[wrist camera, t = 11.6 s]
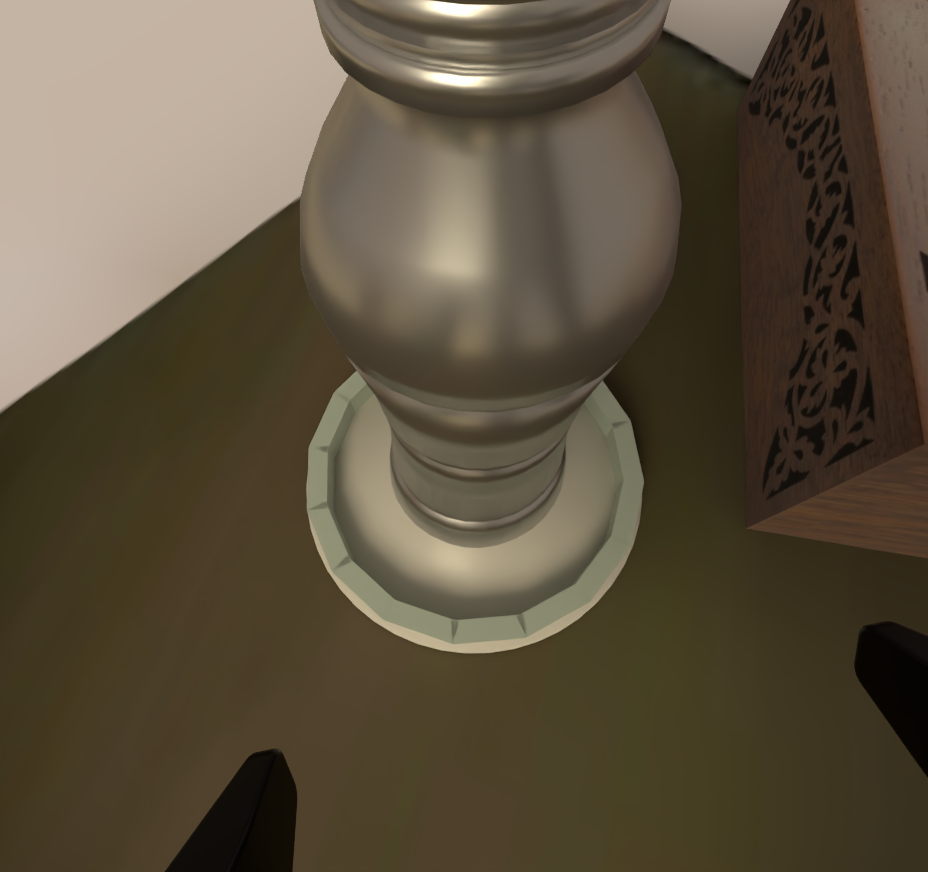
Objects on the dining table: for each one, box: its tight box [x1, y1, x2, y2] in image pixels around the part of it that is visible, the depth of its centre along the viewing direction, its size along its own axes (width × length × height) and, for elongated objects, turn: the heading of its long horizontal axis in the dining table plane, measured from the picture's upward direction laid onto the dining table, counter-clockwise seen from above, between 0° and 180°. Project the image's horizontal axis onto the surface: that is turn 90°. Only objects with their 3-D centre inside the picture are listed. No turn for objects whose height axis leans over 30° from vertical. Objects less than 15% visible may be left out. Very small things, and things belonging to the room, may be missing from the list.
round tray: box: [307, 371, 644, 653], centre depth 23 cm, size 14×14×2 cm
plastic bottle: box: [300, 0, 682, 548], centre depth 14 cm, size 6×7×20 cm
